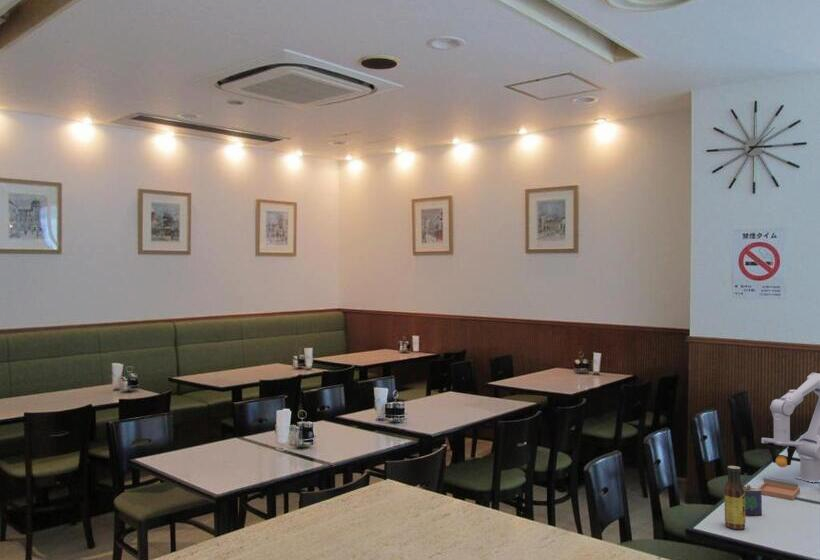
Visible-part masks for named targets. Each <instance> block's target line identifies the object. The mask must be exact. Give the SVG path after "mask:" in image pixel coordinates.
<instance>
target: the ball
mask: <svg viewBox="0 0 820 560" xmlns="http://www.w3.org/2000/svg"><path fill="white" fill-rule="evenodd" d="M775 462H776V463H775V464H776V465H777V466H778V467H779V468H786V467H787V466H789V465H788V457H787V456H785V455H783V454H781V455H780V454H779V455H778V456H776V460H775Z"/></svg>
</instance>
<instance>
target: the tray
mask: <svg viewBox="0 0 820 560" xmlns="http://www.w3.org/2000/svg"><path fill="white" fill-rule="evenodd" d="M756 489H761V490H762V496H766V495H767V496H768V497H772V498H773V497H774V498H777V499H783V500H787V501H794V500H795V498H797V496H799V494H800V493H801V488H800V487H799V486H798V487H792V486H786V485H781V484H775V483H770V482H764V481H763V483H762V484H761V485H760V486H758V487H757V488H756ZM767 496H766V497H767Z"/></svg>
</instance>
